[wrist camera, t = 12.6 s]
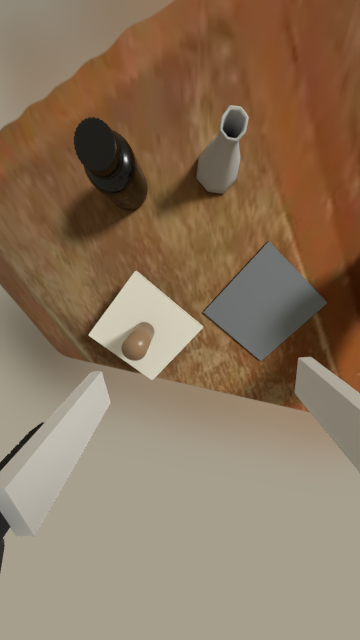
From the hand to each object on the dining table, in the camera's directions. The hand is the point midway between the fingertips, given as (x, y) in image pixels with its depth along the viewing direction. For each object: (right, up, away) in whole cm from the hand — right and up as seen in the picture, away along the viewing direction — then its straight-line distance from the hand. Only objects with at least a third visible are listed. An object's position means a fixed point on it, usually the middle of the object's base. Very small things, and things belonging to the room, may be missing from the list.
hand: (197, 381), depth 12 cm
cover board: (-8, +2, +20) cm, 22 cm away
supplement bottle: (-10, +27, +19) cm, 35 cm away
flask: (+5, +30, +18) cm, 35 cm away
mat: (+16, +7, +24) cm, 30 cm away
